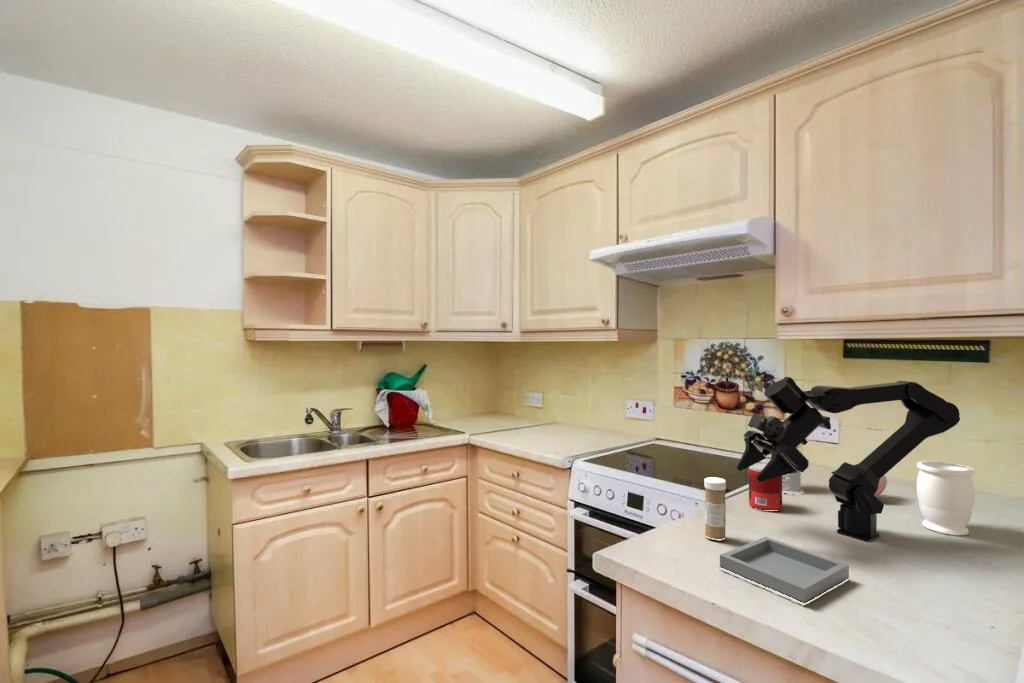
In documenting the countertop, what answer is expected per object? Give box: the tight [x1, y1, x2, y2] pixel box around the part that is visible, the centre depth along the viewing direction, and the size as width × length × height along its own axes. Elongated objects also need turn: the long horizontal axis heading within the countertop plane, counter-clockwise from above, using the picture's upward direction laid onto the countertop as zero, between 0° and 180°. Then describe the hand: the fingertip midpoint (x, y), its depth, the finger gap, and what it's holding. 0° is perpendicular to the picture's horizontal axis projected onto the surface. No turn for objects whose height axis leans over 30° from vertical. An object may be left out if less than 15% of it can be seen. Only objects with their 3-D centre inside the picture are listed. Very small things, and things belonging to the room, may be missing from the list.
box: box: [719, 536, 850, 603], centre depth 95 cm, size 16×16×3 cm
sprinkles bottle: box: [703, 476, 727, 539], centre depth 113 cm, size 5×5×14 cm
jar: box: [916, 460, 976, 536], centre depth 117 cm, size 11×10×15 cm
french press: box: [765, 413, 804, 493], centre depth 149 cm, size 10×12×25 cm
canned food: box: [748, 462, 783, 511], centre depth 133 cm, size 8×8×11 cm
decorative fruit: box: [874, 474, 888, 497], centre depth 139 cm, size 9×8×10 cm
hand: (747, 474), depth 114 cm, fingers open, 9 cm apart
